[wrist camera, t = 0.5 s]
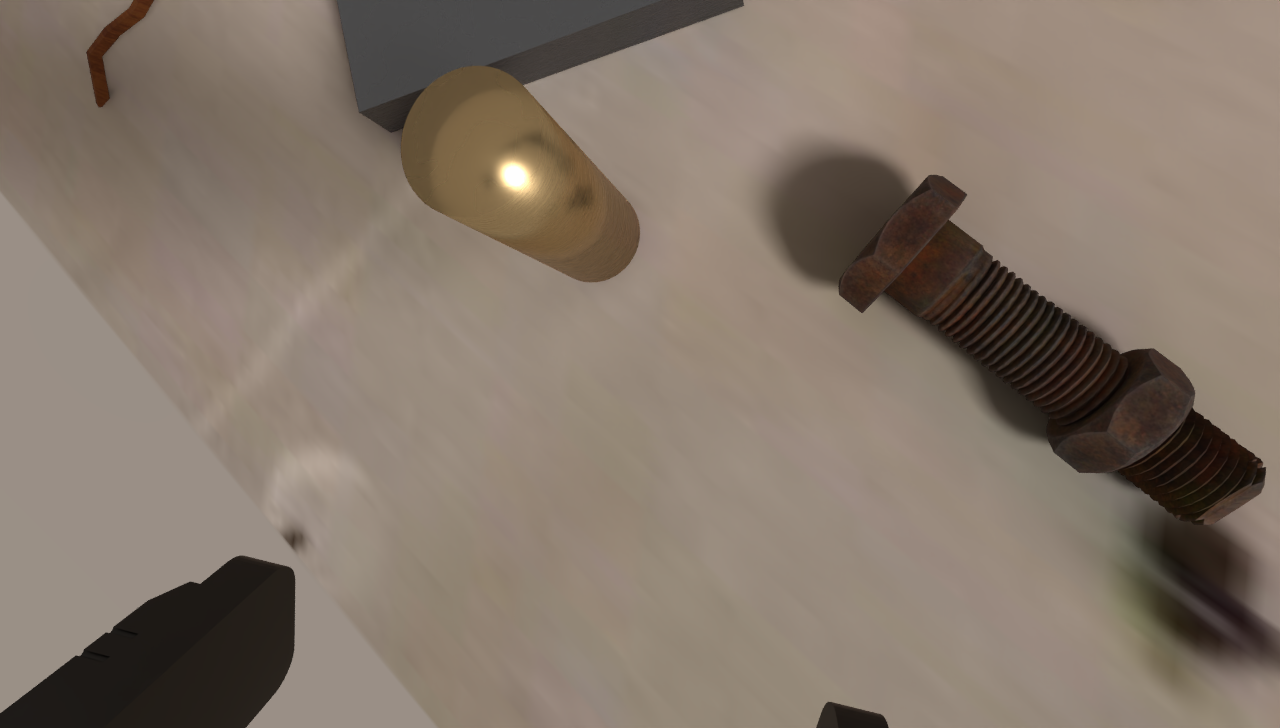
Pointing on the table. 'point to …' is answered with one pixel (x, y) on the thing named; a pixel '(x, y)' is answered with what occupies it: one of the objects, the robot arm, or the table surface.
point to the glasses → (106, 40)
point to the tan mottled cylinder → (515, 175)
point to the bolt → (1056, 362)
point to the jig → (492, 40)
